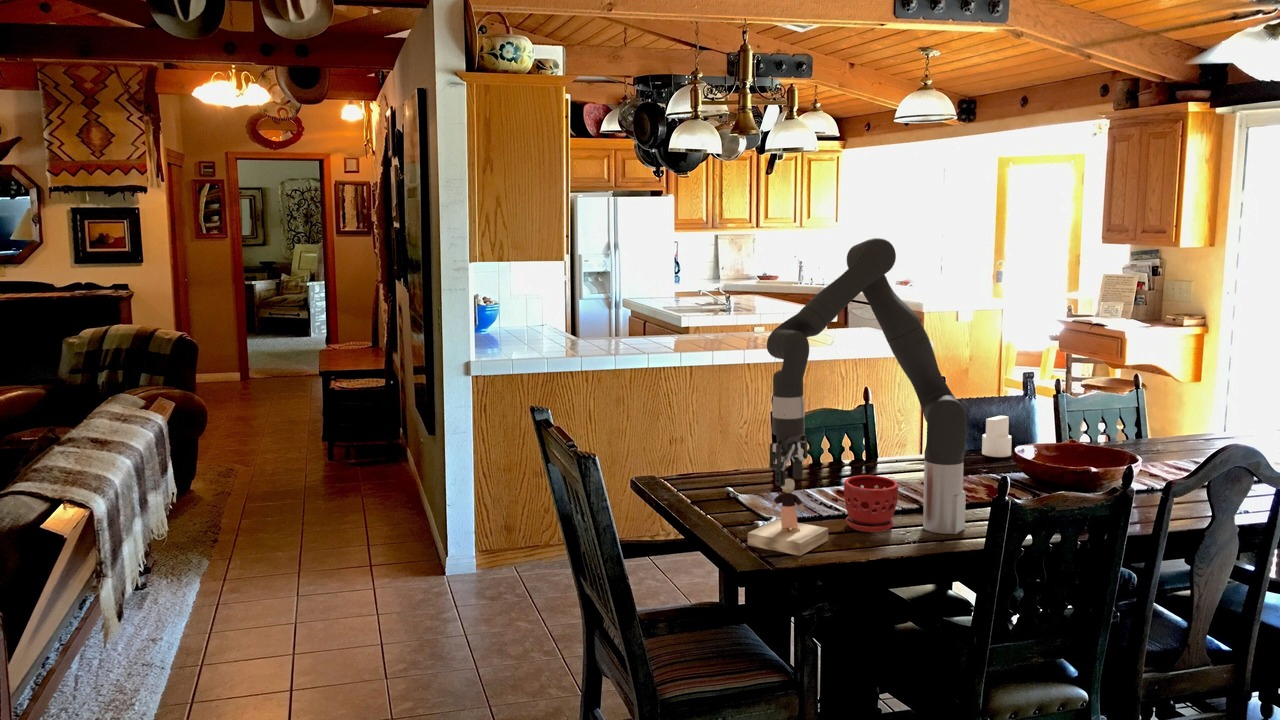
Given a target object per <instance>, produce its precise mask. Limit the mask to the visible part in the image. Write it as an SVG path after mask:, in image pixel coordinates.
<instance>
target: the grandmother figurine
mask: <svg viewBox="0 0 1280 720" xmlns="http://www.w3.org/2000/svg"><path fill="white" fill-rule="evenodd" d="M795 486H796V483H795V480H794V478H790V477H789V478H785V485H784V486H779V487H780V488H781V489H782V490H783V492H784V493H781V494H779V495H777V496H776V497H775V498H774V499H773V503H772V504H771V508H772V509H776V508H777V506H778V505H779V504H781V506H780V507H781V508H780V520H781V526H782V529H781V531H782V532H788V531H789V530H790V529H789V528H792V529H791V531H790V532H792V533H796V532H799V531H800V529H799V528H798V527H797V523H798V514H797V507H798V508H799V511H800V512H804V511H805V508H804V505H803V502H802V501H801V499H800V497H799V496H798V495H796V494H795V493H793V492H794V491H795ZM796 505H797V507H796Z"/></svg>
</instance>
